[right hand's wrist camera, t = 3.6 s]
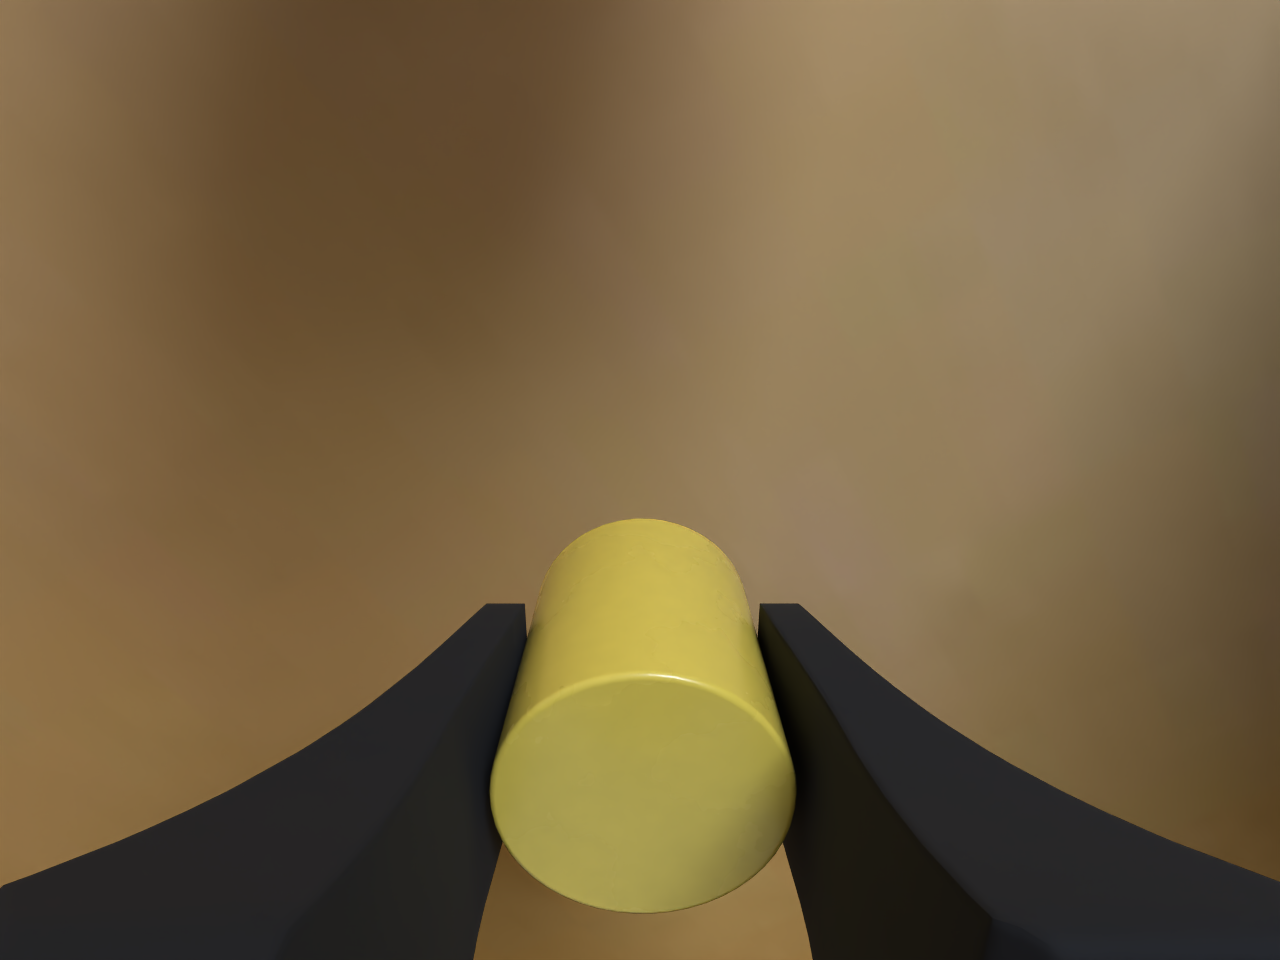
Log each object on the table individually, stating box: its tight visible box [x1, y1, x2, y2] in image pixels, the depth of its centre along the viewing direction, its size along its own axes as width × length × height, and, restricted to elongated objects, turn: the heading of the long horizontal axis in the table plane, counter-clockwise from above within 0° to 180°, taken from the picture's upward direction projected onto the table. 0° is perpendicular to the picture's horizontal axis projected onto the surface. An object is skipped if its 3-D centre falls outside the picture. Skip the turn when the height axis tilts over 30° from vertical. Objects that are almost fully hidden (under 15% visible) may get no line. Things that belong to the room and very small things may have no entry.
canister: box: [489, 519, 797, 914], centre depth 11 cm, size 4×4×4 cm
